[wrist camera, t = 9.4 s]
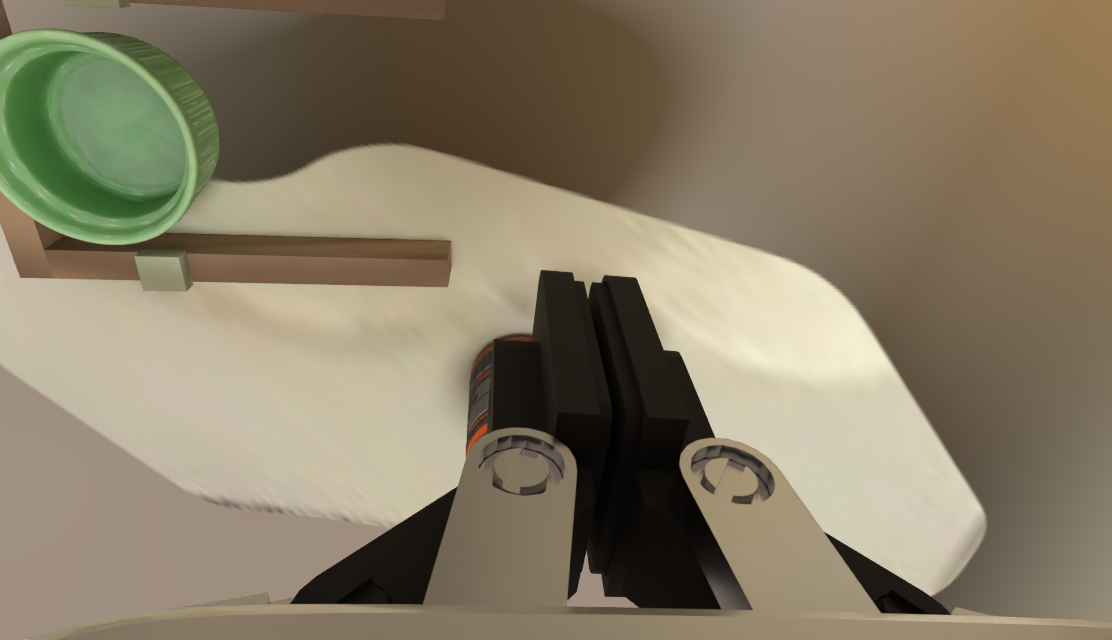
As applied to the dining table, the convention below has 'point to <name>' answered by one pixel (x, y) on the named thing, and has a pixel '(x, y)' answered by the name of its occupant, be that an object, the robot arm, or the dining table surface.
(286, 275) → the walnut track
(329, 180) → the dining table surface
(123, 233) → the ramekin
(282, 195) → the dining table surface
